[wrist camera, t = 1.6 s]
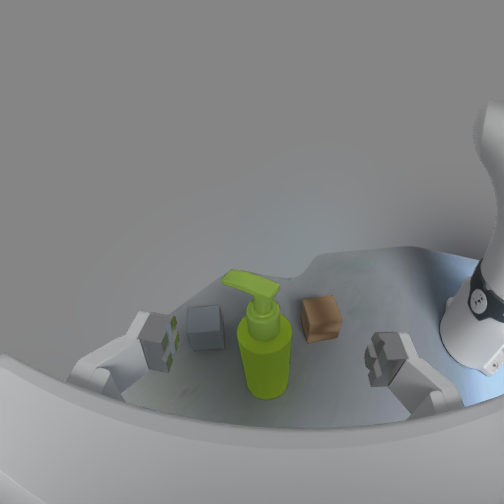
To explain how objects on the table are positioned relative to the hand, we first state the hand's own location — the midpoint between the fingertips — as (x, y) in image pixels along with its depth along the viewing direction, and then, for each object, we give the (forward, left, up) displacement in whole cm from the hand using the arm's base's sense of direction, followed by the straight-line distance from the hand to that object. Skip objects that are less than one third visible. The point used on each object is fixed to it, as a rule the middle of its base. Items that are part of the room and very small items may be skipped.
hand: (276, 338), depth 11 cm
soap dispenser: (0, -12, -28) cm, 31 cm away
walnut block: (-10, -20, -28) cm, 36 cm away
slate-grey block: (+8, -21, -28) cm, 36 cm away
